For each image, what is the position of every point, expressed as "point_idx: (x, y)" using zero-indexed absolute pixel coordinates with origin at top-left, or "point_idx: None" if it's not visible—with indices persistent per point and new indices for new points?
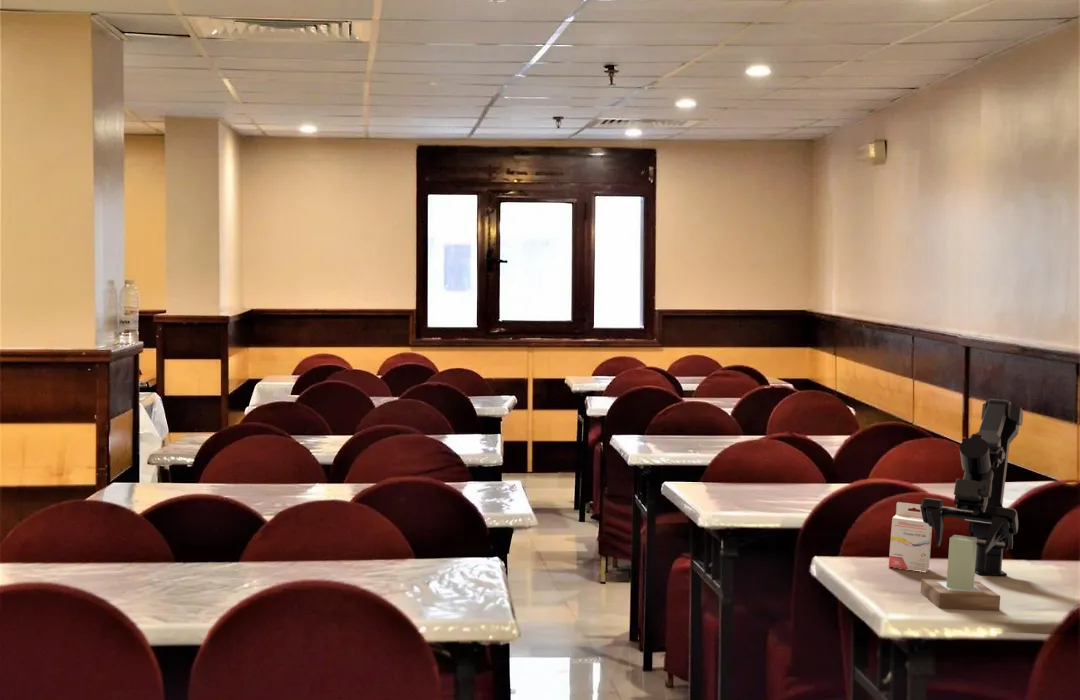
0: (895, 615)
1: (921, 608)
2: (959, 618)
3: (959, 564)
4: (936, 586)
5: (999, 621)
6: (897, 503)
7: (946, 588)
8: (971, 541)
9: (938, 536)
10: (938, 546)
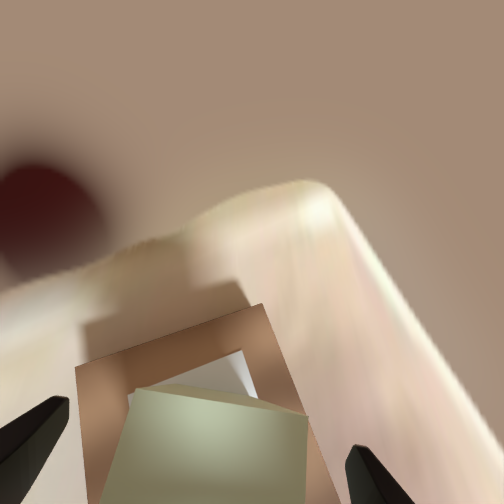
0: (322, 212)
1: (289, 288)
2: (209, 241)
3: (216, 393)
4: (278, 392)
5: (121, 255)
6: None
7: (248, 368)
8: (145, 390)
9: (396, 501)
10: (348, 457)
